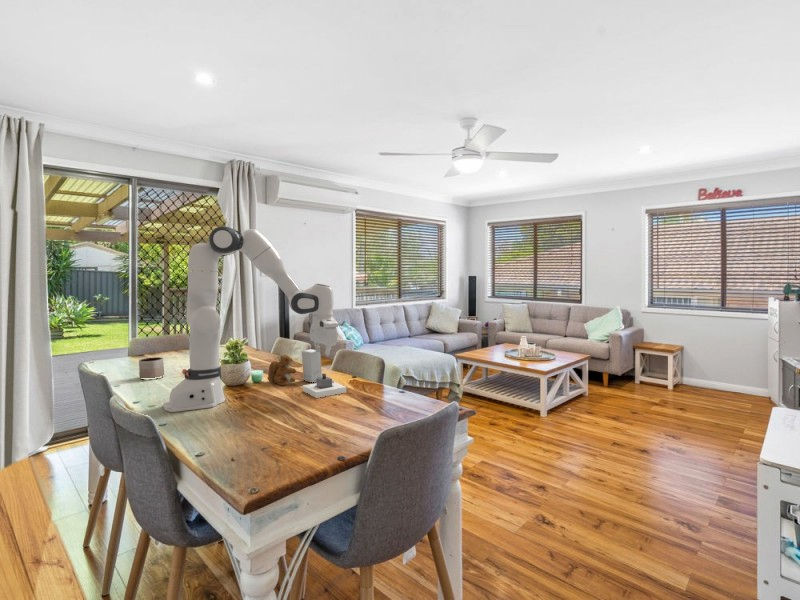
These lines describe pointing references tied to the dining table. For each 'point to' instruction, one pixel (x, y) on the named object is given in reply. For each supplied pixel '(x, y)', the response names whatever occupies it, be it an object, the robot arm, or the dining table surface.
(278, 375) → the stuffed squirrel
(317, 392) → the socket plate
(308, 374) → the skincare box
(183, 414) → the dining table surface
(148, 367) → the planter
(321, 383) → the plug
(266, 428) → the dining table surface
